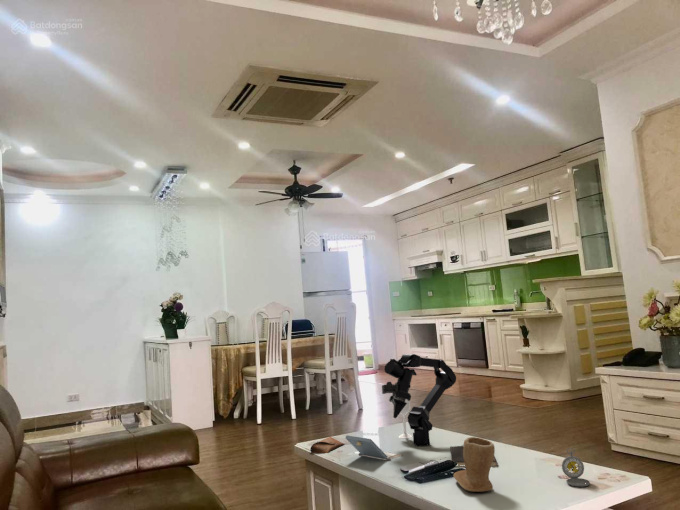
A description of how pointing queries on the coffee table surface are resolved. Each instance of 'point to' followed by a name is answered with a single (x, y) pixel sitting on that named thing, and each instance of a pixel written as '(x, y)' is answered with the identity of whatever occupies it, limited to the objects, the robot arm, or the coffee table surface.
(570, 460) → the pocket watch
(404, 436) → the champagne flute
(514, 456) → the coffee table surface
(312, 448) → the sunglasses case
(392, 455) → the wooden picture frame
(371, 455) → the door
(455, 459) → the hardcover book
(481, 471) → the tan boot
